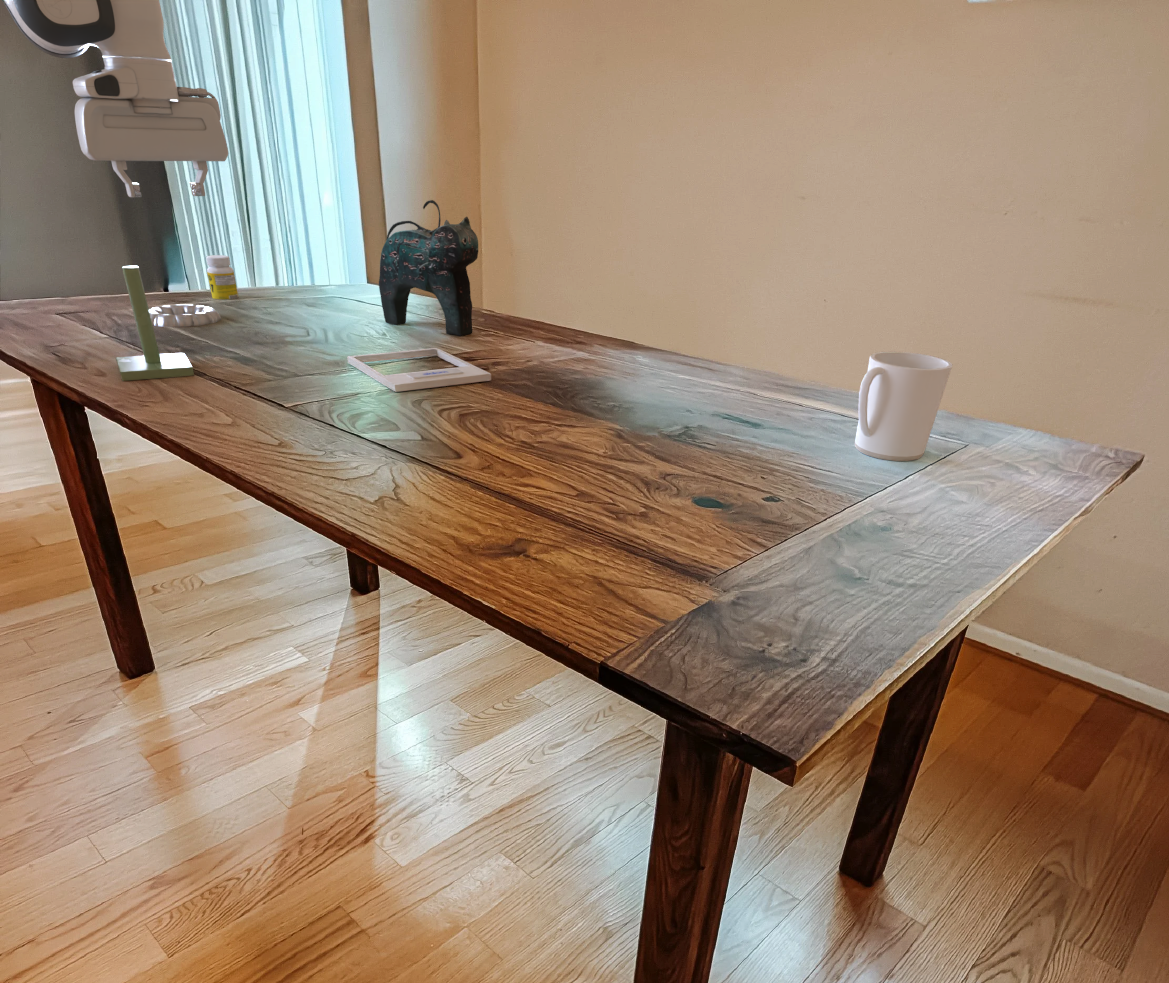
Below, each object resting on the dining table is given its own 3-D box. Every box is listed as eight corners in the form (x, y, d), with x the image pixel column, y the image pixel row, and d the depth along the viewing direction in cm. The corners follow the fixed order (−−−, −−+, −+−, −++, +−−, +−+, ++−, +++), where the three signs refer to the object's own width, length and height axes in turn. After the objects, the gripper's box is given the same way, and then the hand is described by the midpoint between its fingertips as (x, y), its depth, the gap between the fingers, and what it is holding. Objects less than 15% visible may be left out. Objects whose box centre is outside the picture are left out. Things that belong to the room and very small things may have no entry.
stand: (122, 381, 110) (93, 272, 102) (117, 366, 116) (90, 263, 109) (194, 375, 113) (171, 270, 106) (186, 361, 120) (163, 261, 113)
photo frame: (394, 383, 109) (346, 355, 122) (395, 391, 110) (347, 362, 122) (490, 372, 116) (436, 346, 129) (491, 380, 117) (437, 353, 129)
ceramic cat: (484, 334, 144) (480, 203, 133) (461, 339, 139) (455, 204, 128) (398, 318, 152) (387, 194, 141) (374, 324, 147) (361, 195, 136)
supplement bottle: (214, 303, 158) (204, 254, 153) (240, 303, 159) (231, 254, 154) (213, 307, 154) (203, 258, 149) (239, 307, 155) (230, 258, 150)
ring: (148, 338, 131) (143, 318, 129) (141, 324, 140) (136, 305, 138) (227, 333, 136) (223, 314, 134) (216, 320, 145) (212, 301, 143)
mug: (888, 435, 103) (910, 349, 97) (943, 457, 96) (970, 366, 91) (821, 445, 98) (839, 355, 93) (874, 468, 92) (897, 374, 86)
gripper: (207, 89, 125) (227, 194, 132) (59, 80, 113) (90, 196, 121) (224, 88, 121) (242, 197, 129) (72, 80, 109) (103, 199, 117)
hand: (167, 196), depth 125 cm, fingers open, 8 cm apart
